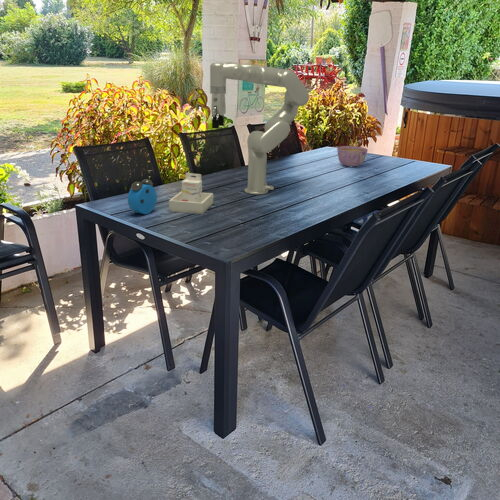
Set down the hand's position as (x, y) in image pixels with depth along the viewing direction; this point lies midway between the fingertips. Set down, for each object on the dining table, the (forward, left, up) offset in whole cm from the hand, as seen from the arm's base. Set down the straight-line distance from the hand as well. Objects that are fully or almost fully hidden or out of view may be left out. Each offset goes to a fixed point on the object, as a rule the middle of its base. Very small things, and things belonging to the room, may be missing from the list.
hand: (218, 127), depth 244 cm
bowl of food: (-66, -96, -34) cm, 122 cm away
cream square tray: (+6, +25, -34) cm, 43 cm away
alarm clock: (+24, +40, -34) cm, 58 cm away
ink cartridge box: (+6, +25, -34) cm, 42 cm away
